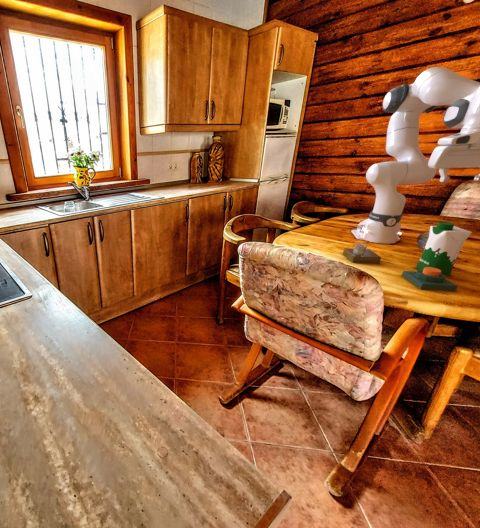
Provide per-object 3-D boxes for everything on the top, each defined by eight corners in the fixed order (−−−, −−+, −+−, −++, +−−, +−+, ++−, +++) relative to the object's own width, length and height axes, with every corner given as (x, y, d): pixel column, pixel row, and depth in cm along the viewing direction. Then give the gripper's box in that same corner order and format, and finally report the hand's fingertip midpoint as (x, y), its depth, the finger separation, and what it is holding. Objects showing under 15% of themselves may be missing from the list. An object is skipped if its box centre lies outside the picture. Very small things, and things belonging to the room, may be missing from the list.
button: (419, 271, 104) (421, 266, 103) (433, 272, 103) (435, 267, 102) (427, 276, 100) (429, 271, 99) (442, 277, 99) (444, 272, 98)
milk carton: (411, 266, 115) (429, 220, 107) (437, 267, 114) (457, 220, 105) (427, 276, 108) (448, 226, 99) (455, 277, 106) (479, 226, 98)
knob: (351, 251, 126) (353, 242, 124) (361, 252, 125) (364, 243, 123) (355, 255, 122) (358, 245, 120) (366, 255, 121) (368, 246, 119)
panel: (339, 254, 131) (341, 247, 130) (367, 255, 128) (369, 248, 127) (350, 262, 122) (352, 256, 121) (380, 264, 119) (382, 257, 118)
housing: (401, 275, 109) (404, 266, 107) (432, 277, 107) (436, 268, 105) (420, 289, 99) (424, 279, 98) (455, 291, 97) (460, 281, 95)
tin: (413, 245, 136) (420, 229, 132) (419, 245, 136) (426, 228, 132) (448, 257, 122) (457, 239, 118) (455, 256, 122) (463, 238, 119)
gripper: (510, 136, 91) (490, 179, 96) (432, 139, 96) (418, 180, 101) (530, 135, 85) (508, 181, 90) (447, 139, 90) (431, 183, 96)
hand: (460, 181), depth 96 cm, fingers open, 8 cm apart
